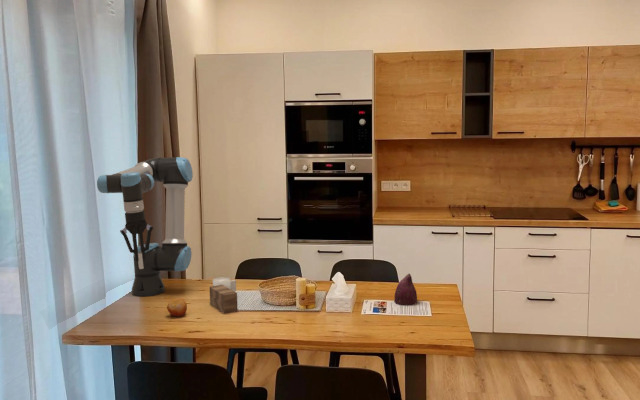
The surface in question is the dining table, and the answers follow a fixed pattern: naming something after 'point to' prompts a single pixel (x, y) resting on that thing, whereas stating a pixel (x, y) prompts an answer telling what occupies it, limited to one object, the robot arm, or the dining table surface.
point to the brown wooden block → (223, 299)
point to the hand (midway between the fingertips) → (141, 268)
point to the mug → (225, 282)
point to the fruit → (177, 307)
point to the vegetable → (405, 292)
